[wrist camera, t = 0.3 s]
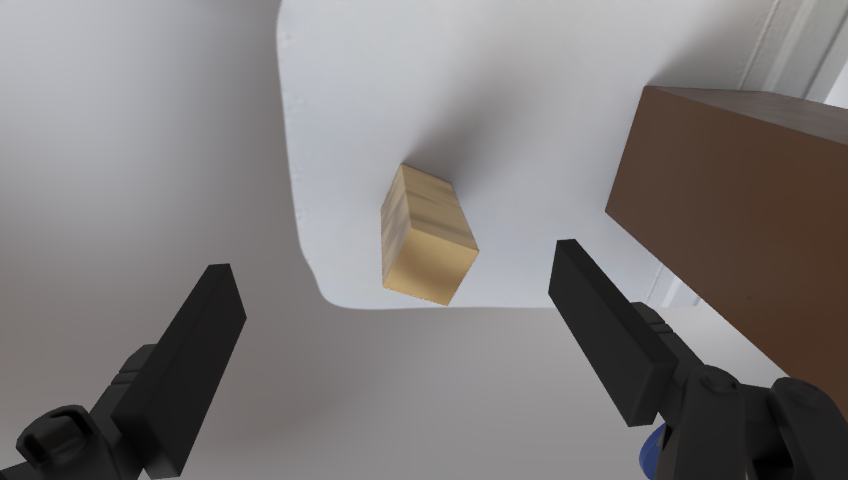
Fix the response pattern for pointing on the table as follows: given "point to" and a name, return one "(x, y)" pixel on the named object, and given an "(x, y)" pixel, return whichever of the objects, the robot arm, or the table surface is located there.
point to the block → (424, 237)
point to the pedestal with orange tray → (748, 216)
